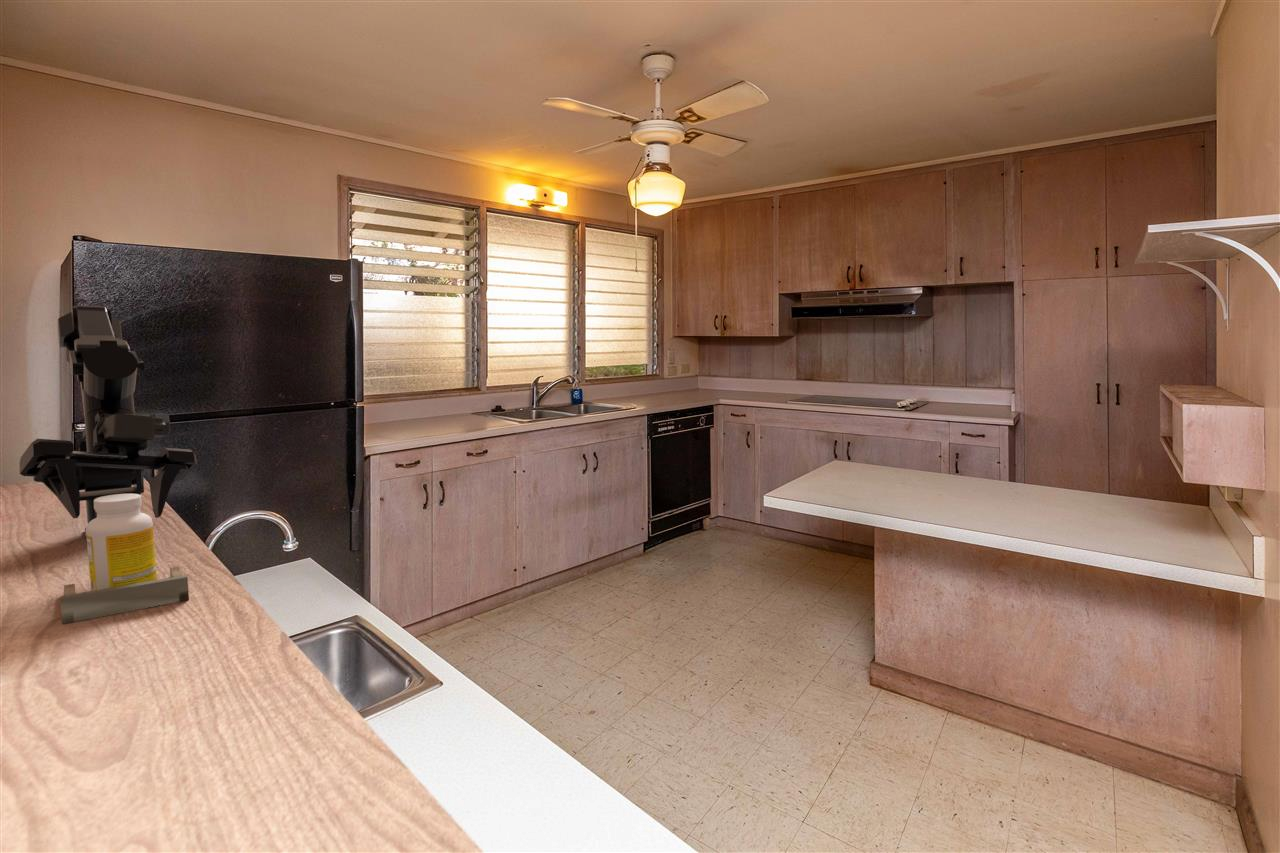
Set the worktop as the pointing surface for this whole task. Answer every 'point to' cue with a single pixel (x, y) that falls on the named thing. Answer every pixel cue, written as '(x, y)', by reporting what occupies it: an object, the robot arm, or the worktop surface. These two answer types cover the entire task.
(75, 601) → the u-shaped frame
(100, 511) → the supplement bottle
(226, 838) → the worktop surface
